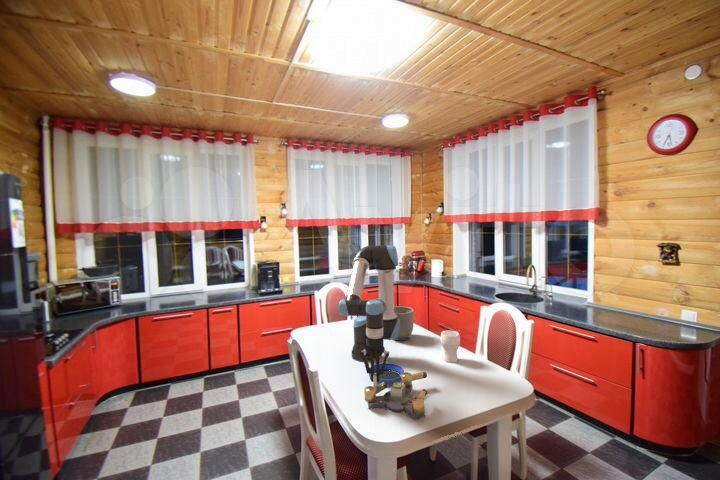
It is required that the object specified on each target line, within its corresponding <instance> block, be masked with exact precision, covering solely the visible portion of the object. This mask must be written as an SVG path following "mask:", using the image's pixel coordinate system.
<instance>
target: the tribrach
mask: <svg viewBox="0 0 720 480" xmlns="http://www.w3.org/2000/svg"><path fill="white" fill-rule="evenodd" d="M390 386H391V387H389V388H390V390H388V391H386V392H385V393H384V394H383V395H376V400H375V401H374V402H367V405H368V409H369V410H372V409H374V408H375V409H386V410H388V411H391V412H393V413H404V414H406V415H407V416H408V417H410V418H411V419H413V420H414V421H417V420H420V419H422V418H424V417H425V416H426V412H425V411H426V410H425V411H424V413H422V414H416V413H414V412H413V411H412V398H413V397H414V396H413V394H412V392H413V388H414V387H413V384H412V385H411V386H409V387H405V384H402V383H401V382H394V384H393V385H390ZM370 408H372V409H370Z"/></svg>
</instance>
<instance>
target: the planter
mask: <svg viewBox="0 0 720 480" xmlns="http://www.w3.org/2000/svg"><path fill="white" fill-rule="evenodd" d="M394 313H395V314H396V315H397V319H400V324H399V332H398V338H397V339H396V340H395V341H405V340H407V339H408V338H409V337H410V336H411V335H412V334H413V330H414V324H415V323H414V322H415V310H414V309H413V308H412V307H410V306H409V307H408V306H400V305H399V306H395V305H394Z"/></svg>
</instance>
